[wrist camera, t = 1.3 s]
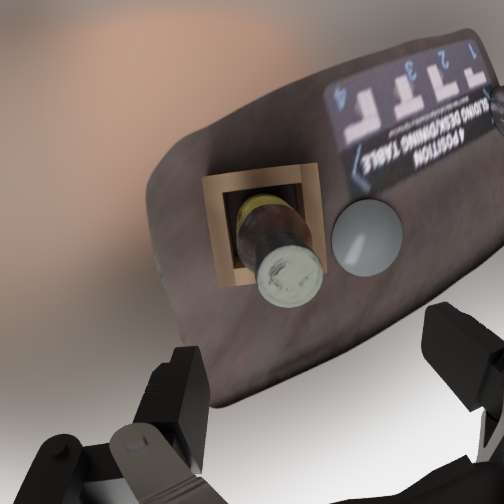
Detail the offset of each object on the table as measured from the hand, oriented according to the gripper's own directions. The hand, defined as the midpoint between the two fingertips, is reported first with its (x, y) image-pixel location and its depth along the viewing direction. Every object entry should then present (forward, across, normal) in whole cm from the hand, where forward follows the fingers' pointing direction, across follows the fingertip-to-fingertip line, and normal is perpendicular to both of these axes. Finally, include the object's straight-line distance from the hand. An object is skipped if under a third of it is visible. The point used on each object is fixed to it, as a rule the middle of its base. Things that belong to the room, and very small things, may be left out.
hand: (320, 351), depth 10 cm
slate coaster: (+28, -13, +4) cm, 31 cm away
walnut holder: (+28, 0, 0) cm, 28 cm away
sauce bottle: (+28, 0, 0) cm, 28 cm away
